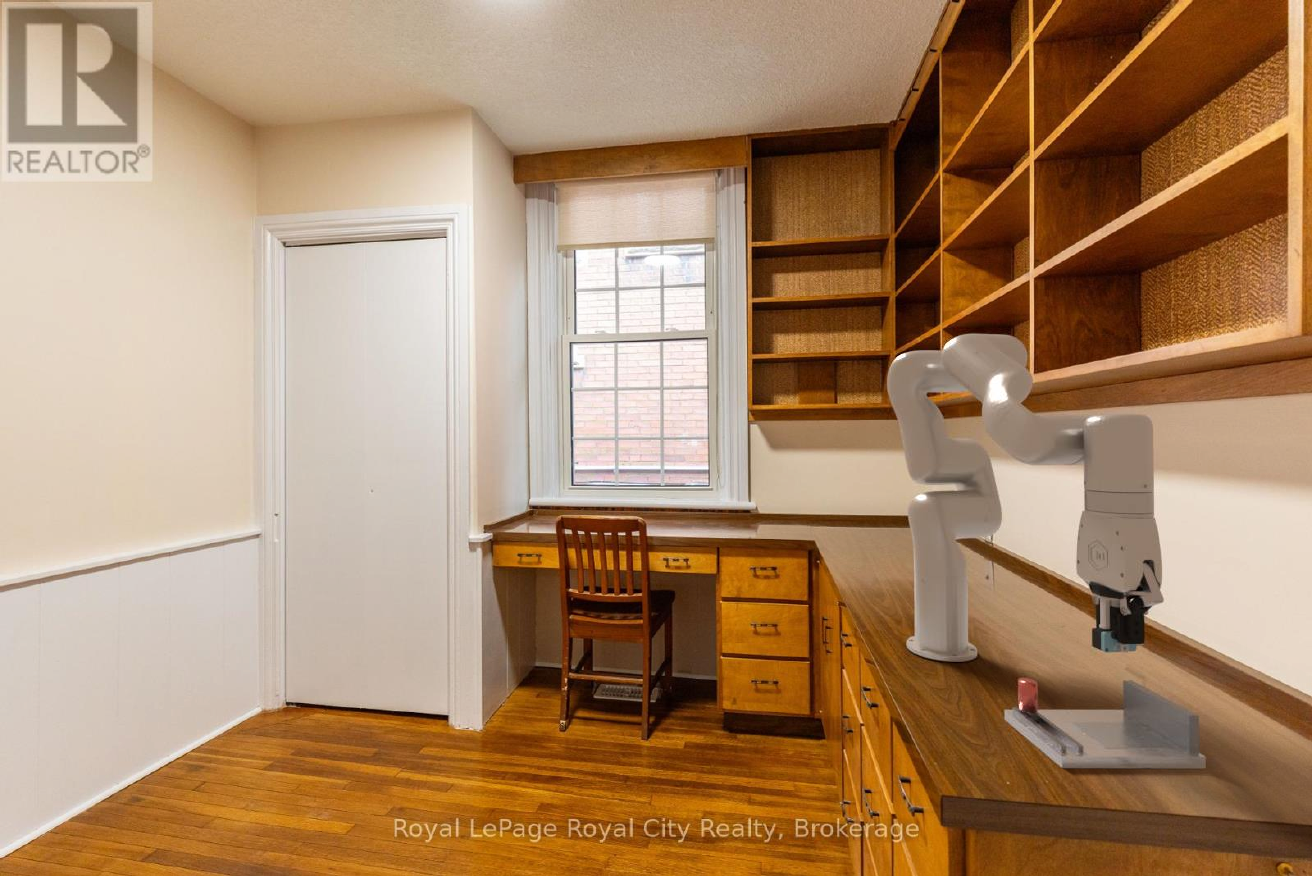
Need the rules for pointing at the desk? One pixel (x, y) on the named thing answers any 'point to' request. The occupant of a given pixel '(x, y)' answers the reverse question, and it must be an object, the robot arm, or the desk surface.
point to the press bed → (1117, 733)
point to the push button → (1109, 621)
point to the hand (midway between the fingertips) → (1119, 637)
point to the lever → (1028, 697)
